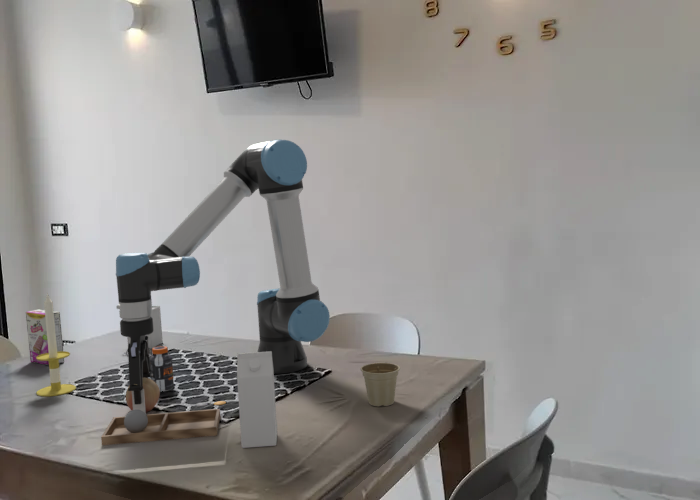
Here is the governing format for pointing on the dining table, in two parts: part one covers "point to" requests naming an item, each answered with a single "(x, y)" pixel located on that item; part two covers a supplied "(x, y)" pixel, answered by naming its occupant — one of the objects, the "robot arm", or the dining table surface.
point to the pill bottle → (162, 368)
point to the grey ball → (135, 421)
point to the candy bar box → (42, 334)
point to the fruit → (146, 394)
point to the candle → (53, 357)
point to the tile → (207, 403)
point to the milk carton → (256, 399)
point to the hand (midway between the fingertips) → (143, 410)
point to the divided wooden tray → (165, 427)
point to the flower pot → (380, 382)
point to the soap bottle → (154, 329)
